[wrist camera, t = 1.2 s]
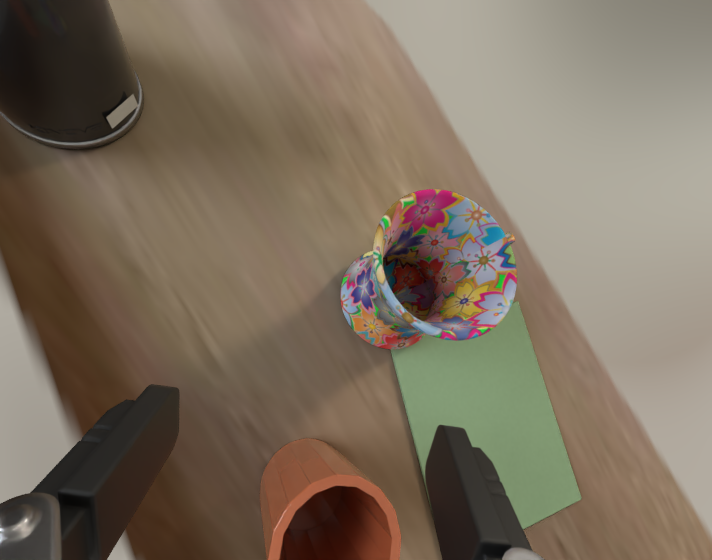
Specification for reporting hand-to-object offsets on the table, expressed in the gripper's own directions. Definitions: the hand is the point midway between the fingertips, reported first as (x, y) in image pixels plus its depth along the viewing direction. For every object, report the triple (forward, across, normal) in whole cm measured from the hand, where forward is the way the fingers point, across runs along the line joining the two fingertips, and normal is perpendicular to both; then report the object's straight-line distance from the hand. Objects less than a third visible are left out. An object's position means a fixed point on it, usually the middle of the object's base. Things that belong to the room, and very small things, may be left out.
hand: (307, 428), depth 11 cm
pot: (+10, 0, +15) cm, 18 cm away
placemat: (+16, -15, +11) cm, 25 cm away
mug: (+20, -6, +3) cm, 21 cm away
